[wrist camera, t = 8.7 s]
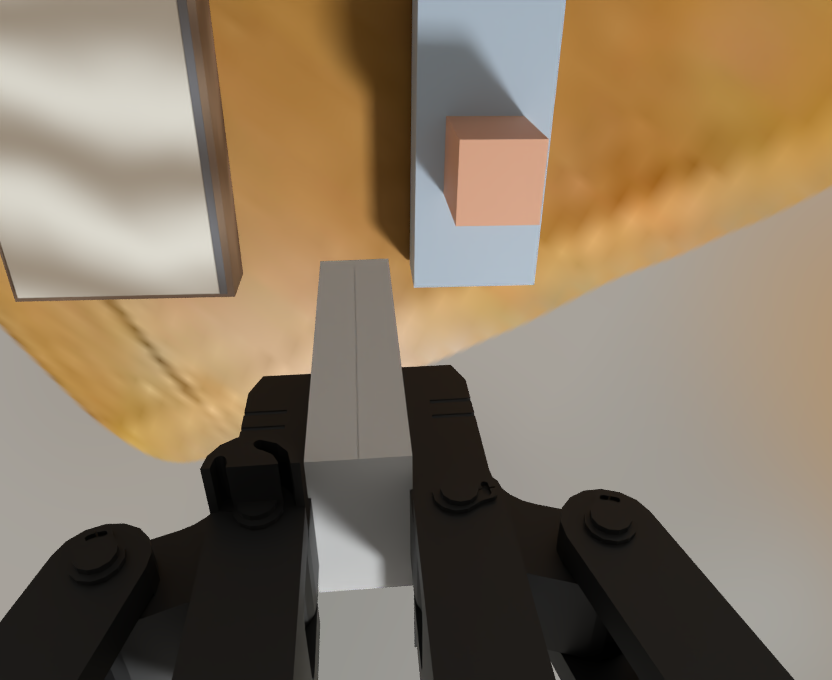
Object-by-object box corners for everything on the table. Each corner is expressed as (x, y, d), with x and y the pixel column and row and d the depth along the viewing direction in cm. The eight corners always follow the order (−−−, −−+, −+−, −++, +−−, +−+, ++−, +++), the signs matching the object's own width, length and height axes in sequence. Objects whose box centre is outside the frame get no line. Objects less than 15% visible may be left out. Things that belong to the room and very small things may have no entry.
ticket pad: (-51, -28, 32) (-95, -26, 29) (205, -25, 33) (189, -23, 30) (38, 277, 40) (11, 305, 37) (242, 273, 41) (233, 300, 38)
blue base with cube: (412, -11, 34) (428, -1, 26) (548, -9, 34) (600, 0, 27) (409, 263, 41) (421, 329, 34) (521, 261, 42) (556, 326, 34)
